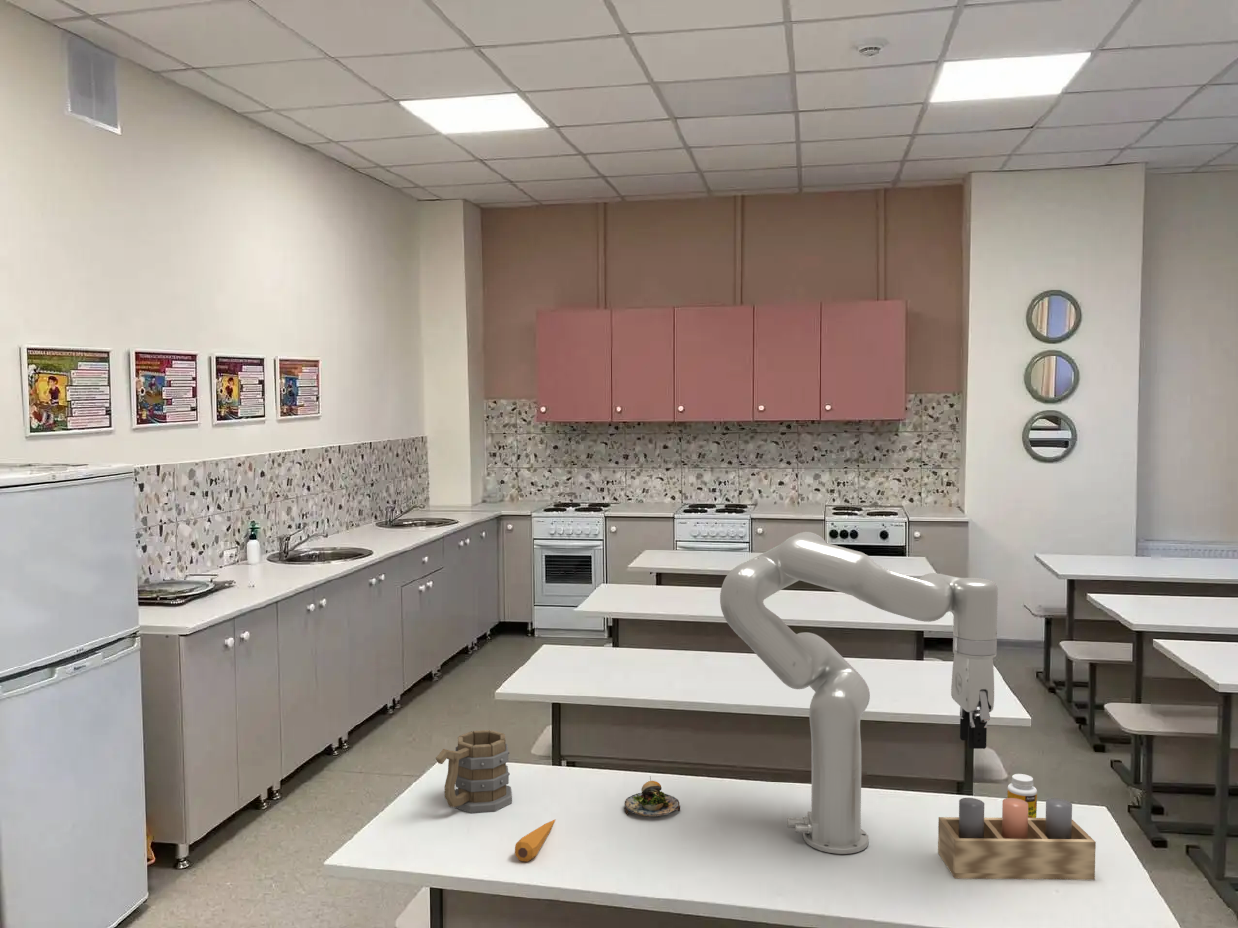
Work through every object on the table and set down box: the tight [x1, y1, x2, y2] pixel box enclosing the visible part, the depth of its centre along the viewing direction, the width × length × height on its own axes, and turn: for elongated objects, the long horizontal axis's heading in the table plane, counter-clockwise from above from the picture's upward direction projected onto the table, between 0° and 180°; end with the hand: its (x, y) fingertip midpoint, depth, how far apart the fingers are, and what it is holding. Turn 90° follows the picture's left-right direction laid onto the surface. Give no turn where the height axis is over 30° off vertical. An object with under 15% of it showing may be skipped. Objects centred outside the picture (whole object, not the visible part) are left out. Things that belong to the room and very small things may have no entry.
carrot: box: [514, 819, 556, 862], centre depth 190 cm, size 20×4×4 cm, turn 166°
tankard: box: [435, 729, 513, 814], centre depth 205 cm, size 20×13×15 cm, turn 144°
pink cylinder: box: [1001, 798, 1028, 839], centre depth 178 cm, size 4×4×7 cm
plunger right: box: [1045, 797, 1073, 839], centre depth 177 cm, size 4×4×7 cm
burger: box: [624, 777, 681, 817], centre depth 204 cm, size 12×12×8 cm
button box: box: [937, 816, 1097, 881], centre depth 178 cm, size 25×10×7 cm, turn 89°
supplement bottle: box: [1007, 773, 1038, 818], centre depth 195 cm, size 6×6×10 cm
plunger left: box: [958, 797, 985, 839], centre depth 178 cm, size 4×4×7 cm
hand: (972, 742), depth 177 cm, fingers open, 3 cm apart
